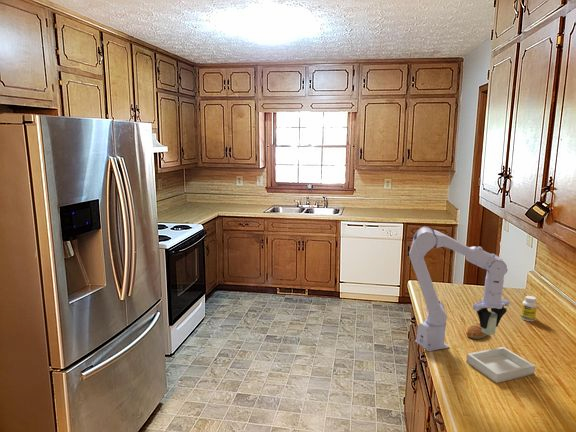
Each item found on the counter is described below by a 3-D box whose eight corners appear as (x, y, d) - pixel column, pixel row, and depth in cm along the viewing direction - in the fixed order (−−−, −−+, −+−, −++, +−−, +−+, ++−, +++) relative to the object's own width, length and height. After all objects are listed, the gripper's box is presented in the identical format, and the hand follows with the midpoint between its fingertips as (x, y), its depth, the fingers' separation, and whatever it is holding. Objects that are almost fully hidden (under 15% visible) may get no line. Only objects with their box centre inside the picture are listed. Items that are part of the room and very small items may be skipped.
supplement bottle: (521, 320, 176) (524, 298, 174) (519, 315, 181) (522, 294, 179) (535, 322, 174) (539, 300, 172) (533, 317, 179) (536, 296, 177)
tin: (488, 335, 146) (490, 317, 144) (478, 329, 150) (480, 311, 148) (498, 333, 147) (500, 315, 146) (488, 328, 151) (490, 310, 150)
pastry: (479, 342, 157) (480, 333, 156) (461, 336, 162) (462, 326, 161) (489, 334, 163) (490, 325, 162) (472, 328, 168) (473, 320, 167)
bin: (496, 382, 131) (497, 374, 130) (466, 361, 143) (467, 353, 142) (534, 374, 136) (535, 365, 135) (502, 354, 148) (503, 346, 147)
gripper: (485, 297, 139) (481, 334, 142) (518, 292, 144) (513, 328, 147) (470, 289, 146) (466, 325, 149) (502, 285, 151) (497, 320, 153)
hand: (488, 326), depth 148 cm, fingers closed on tin, 4 cm apart
